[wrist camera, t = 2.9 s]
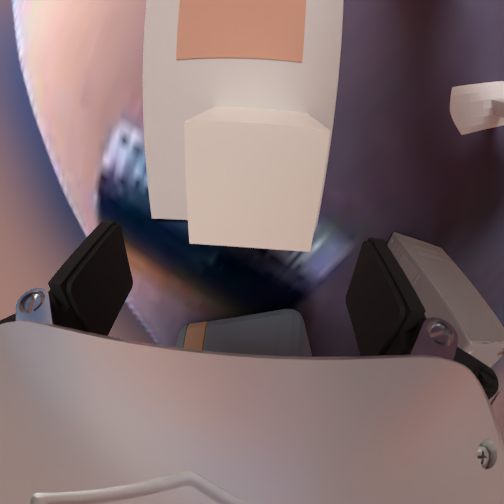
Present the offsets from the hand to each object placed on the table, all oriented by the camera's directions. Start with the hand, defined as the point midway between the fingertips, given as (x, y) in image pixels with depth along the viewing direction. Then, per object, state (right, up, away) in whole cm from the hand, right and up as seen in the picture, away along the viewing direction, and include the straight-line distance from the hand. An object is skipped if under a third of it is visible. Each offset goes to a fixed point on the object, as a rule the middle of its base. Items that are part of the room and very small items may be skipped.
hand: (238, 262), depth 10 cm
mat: (-1, +14, +9) cm, 17 cm away
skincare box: (+18, 0, +18) cm, 26 cm away
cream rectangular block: (+1, +9, +12) cm, 15 cm away
